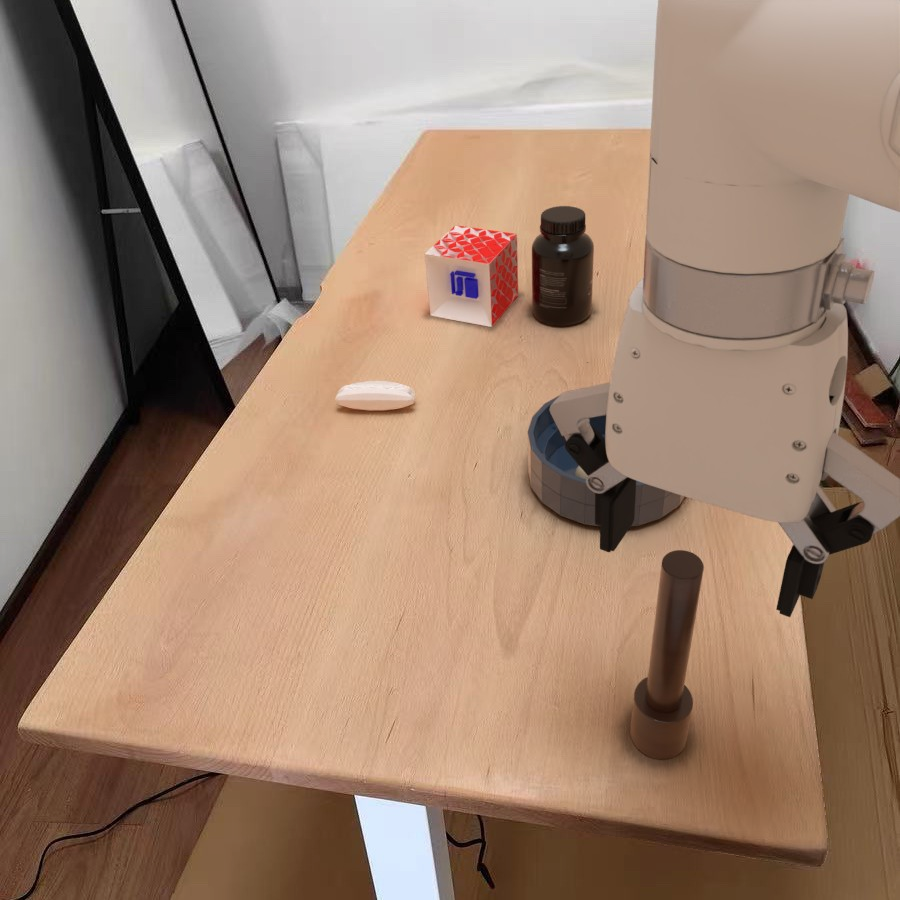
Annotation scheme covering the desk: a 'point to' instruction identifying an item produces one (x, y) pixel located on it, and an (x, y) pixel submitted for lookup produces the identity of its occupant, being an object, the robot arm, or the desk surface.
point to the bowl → (571, 493)
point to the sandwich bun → (375, 396)
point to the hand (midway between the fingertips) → (700, 565)
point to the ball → (580, 473)
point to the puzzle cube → (472, 275)
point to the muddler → (669, 661)
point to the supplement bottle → (562, 268)
